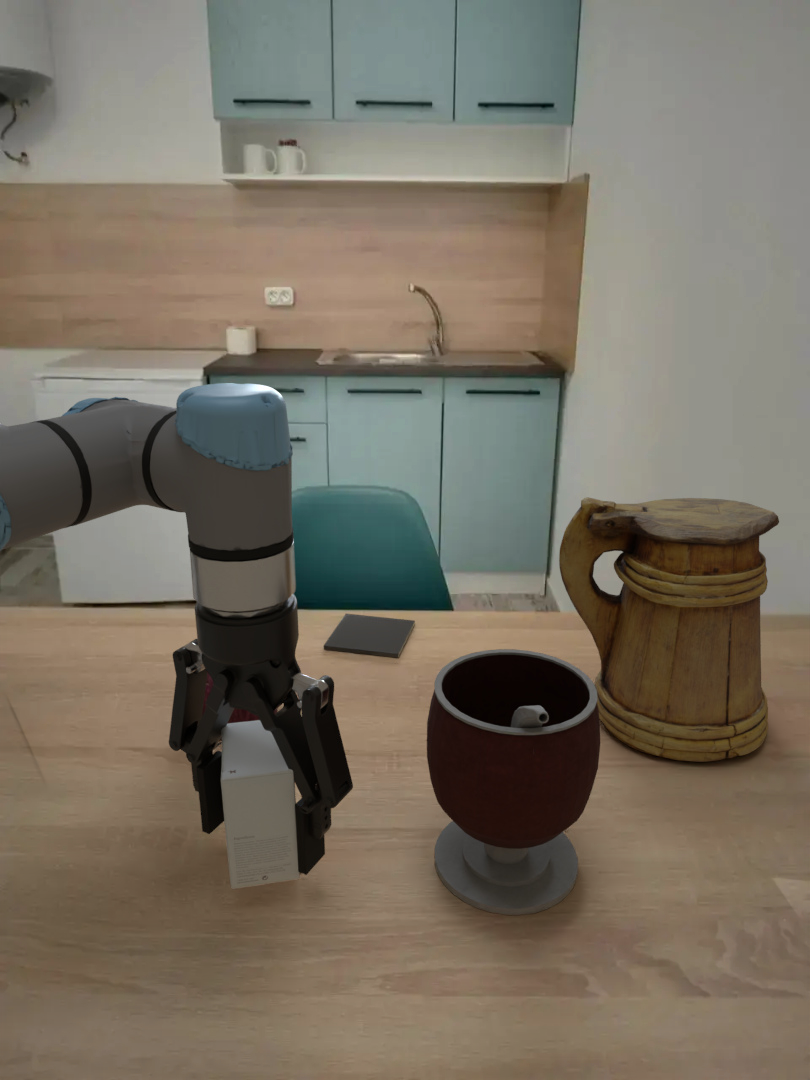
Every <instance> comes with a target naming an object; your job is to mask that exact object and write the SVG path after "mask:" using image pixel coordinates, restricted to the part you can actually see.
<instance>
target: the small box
mask: <svg viewBox="0 0 810 1080" xmlns="http://www.w3.org/2000/svg"><path fill="white" fill-rule="evenodd" d="M221 736H222V739H221V742H222V743H221V752H222V769H221V789H222V800H223V811H224V822H223V823H224V832H225V842H226V843H225V844H226V853H227V854H226V855H227V865H228V875H229V884H230V888H231V889H232V890H236V889H244V888H249V887H257V886H263V885H269V884H277V883H282V882H289V881H296V880H299V879H300V878H301V873H300V872H298V853H297V833H296V814H295V804H296V803H297V800H296V799H297V798H296V784H295V781H294V775H293V770H291V769H288V767H287V765H286V762H285V760H284V758H283V756H282V754H281V752H280V750H279V748H278V746H277V743H276V741H275V739H274V737H273V735H272V733H271V732H270V731H266V730H265V729H264V728H263V726H262V724H261V721H260V720H256V721H247V722H237V723H228V724H227V725H226V726H225V727H224V728H223V729H222V730H221Z"/></svg>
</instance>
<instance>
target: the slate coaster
mask: <svg viewBox="0 0 810 1080" xmlns="http://www.w3.org/2000/svg"><path fill="white" fill-rule="evenodd" d="M415 625H416V620H415V619H414V620H413V619H404V618H394V617H393V618H392V617H384V616H373V615H364V614H356V613H355V614H354V613H345V614H344V615H343V616H342V618H341V619H340V621H339V623H338V624H337V626H336V627H335V628H334V630H333V631H332V633H331V634H330V636H329V637H328V638H327V640H326V641H325V643H324V644H323V650H324V651H325V650H326V651H333V652H342V653H351V654H352V653H353V654H361V655H368V656H369V655H370V656H380V657H388V658H395V659H396V658H397V659H399V657H400V655H401V653H402V652H403V649H404V647H405V645H406V643H407V641H408V639H409V638H410V636H411V633H412V631H413V629H414V627H415Z"/></svg>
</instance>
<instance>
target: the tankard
mask: <svg viewBox="0 0 810 1080" xmlns="http://www.w3.org/2000/svg"><path fill="white" fill-rule="evenodd" d="M779 524H780V519H779V516H778V514H776V513H775V511H772V510H769V509H766V508H763V507H760V506H758V505H754V504H751V503H748V502H744V501H738V500H730V499H723V498H703V497H702V498H700V497H684V498H683V497H682V498H662V499H654V500H649V501H644V502H638V503H616V502H615V501H610V500H601V499H597V498H593V497H584V498H582V499H581V501H580V507H579V508H578V510H577V511H576V512H575V514H574V515H573V516H572V518H571V519H570V521H569V522H568V524H567V526H566V527H565V530H564V532H563V536H562V539H561V542H560V545H559V554H558V555H559V556H558V559H559V560H558V565H559V573H560V577H561V581H562V584H563V586H564V588H565V591H566V593H567V595H568V598H569V599H570V601H571V603H572V605H573V607H574V609H575V610H576V612H577V614H578V616H579V617H580V619H581V620H582V621H583V623H584V625H585V626H586V628H587V629H588V631H589V632H590V635H591V637H592V639H593V642H594V644H595V647H596V648H597V651H598V655H599V659H600V660H599V661H600V671H599V672H598V673H597V675H596V676H595V679H594V685H595V688H596V690H597V704H598V710H599V721H600V722H602V724H603V726H604V728H606V730H607V731H608V732H609V733H610V734H612V736H613V737H615V738H616V739H618V740H619V741H620V742H622V743H623V744H625V745H626V746H628V747H630V748H632V749H634V750H636V751H639V752H641V753H646V754H648V755H653V756H657V757H660V758H665V759H670V760H675V761H681V762H682V761H685V762H696V763H697V762H698V763H699V762H700V763H701V762H714V761H716V762H717V761H721V760H725V759H733V758H735V757H737V756H738V757H739V756H745V755H748V754H750V753H752V752H754V751H755V750H757V749H758V748H759V747H761V746H762V745H763V743H764V741H765V739H766V737H767V734H768V729H769V706H768V698H767V695H766V693H765V691H764V690H763V687H762V654H761V653H762V652H761V651H762V650H761V648H762V646H761V645H762V644H761V643H762V642H761V596H762V595H764V594H765V592H766V591H767V589H768V583H769V579H768V576H767V571H768V570H767V569H768V568H767V559H766V556H765V555H764V554H763V552H761V551H760V536H763V535H765V534H767V533H768V532H770V531H771V530H772V529H774V528H775V527H776V526H778V525H779ZM610 552H621V553H620V554H619V555H618V556H617V557H616V559H615V560H614V562H613V570H614V572H615V573H616V575H617V577H618V578H619V579H620V581H621V582H622V587H621V589H620V592H619V594H617V595H616V594H611V593H608V592H606V591H605V590H603V589H601V588H600V587H599V585H598V583H597V582H596V580H595V577H594V571H595V563H596V562H597V561H598V560H599V559H600V557H601V556H603V554H604V553H610Z"/></svg>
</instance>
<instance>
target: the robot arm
mask: <svg viewBox="0 0 810 1080" xmlns="http://www.w3.org/2000/svg"><path fill="white" fill-rule="evenodd" d="M287 409H288V408H287V404H286V401H285V398H284V396H283V395H282V394H281V393H280V392H279V391H278V390H276V389H274V387H270V386H268V385H265V384H257V383H235V382H223V383H222V382H221V383H220V382H219V383H209V384H203V385H202V384H201V385H196V386H193V387H189V388H187V389H185V390H183V391H182V392H181V393H180V394H179V395H178V397H177V399H176V405H175V407H172V406H166V405H159V404H153V403H147V402H141V401H138V400H135V399H130V398H127V397H118V396H114V397H111V398H108V397H107V398H106V397H89V398H85V399H82V400H79V401H77V402H76V403H75V404H74V405H72V406H71V407H70V408H69V409H68V410H67V411H66V412H64V413H63V414H62V415H61V416H57V417H51V418H47V419H39V420H34V421H31V422H25V423H19V424H15V425H14V424H13V425H8V426H7V425H4V424H2V422H0V552H2V550H5V549H8V548H11V547H14V546H17V545H19V544H22V543H25V542H28V541H31V540H34V539H36V538H40V537H42V536H46V535H48V534H51V533H55V532H56V531H60V530H63V529H67V528H71V527H74V526H75V527H76V526H77V525H81V524H83V523H87V522H90V521H93V520H96V519H100V518H103V517H106V516H108V515H111V514H114V513H118V512H121V511H123V510H126V509H130V508H132V507H135V506H150V507H154V508H159V509H162V510H166V511H172V512H176V513H184V514H185V518H186V527H187V542H188V548H189V558H190V559H189V560H190V573H191V585H192V586H191V587H192V597H193V599H194V600H195V601H196V603H195V606H194V616H195V617H194V618H195V628H196V638H194V639H193V640H192V641H189V642H188V643H186V644H185V645H183V646H180V647H179V648H178V649H175V650H174V651H173V652H172V661H173V665H174V672H175V676H176V677H175V682H174V683H175V684H174V693H173V701H172V711H171V717H170V718H171V719H170V728H169V737H168V738H169V739H168V745H169V747H170V748H171V750H173V751H174V752H178V751H179V750H181V751H182V752H184V753H185V758H186V760H187V761H188V762H189V763H190V767H191V776H192V785H193V788H194V791H195V792H197V793H198V802H199V809H200V819H201V820H200V821H201V830H202V833H205V834H208V835H211V834H212V833H213V832H214V831H215V830H216V829H217V828H219V826H221V825H222V824H223V823H224V811H223V800H222V789H221V769H222V750H216V751H215V752H214V750H215V749H217V748H218V747H219V746H221V745H222V741H221V740H220V738H221V730H222V729H223V728H224V727H225V726H226V725H227V723H228V721H229V719H230V717H231V714H232V712H233V710H234V708H235V709H245V710H247V711H249V712H250V713H252V714H254V715H257V716H258V717H259V719H260V721H261V724H262V726H263V728H264V729H265V730H266V731H270V732H271V733H272V735H273V737H274V739H275V741H276V743H277V746H278V748H279V750H280V752H281V754H282V756H283V758H284V760H285V762H286V765H287V767H288V769H291V770H293V775H294V781H295V787H296V788H297V790H298V792H299V794H300V796H301V798H300V799H299V800H298V801H296V804H295V814H296V833H297V853H298V872H300V874H302V875H304V876H307V875H308V874H309V873H310V872H311V871H312V869H314V867H315V866H316V865H317V864H318V863H319V861H321V859H322V858H323V857H324V856H325V855H326V844H325V843H326V841H325V839H326V838H325V834H326V833H328V832H329V830H330V829H331V827H332V809H334V808H337V806H338V805H339V804H340V803H341V802H342V801H343V800H344V799H345V798H346V797H347V795H348V794H349V793H350V792H352V790H353V789H354V784H353V779H352V774H351V772H350V768H349V763H348V759H347V755H346V751H345V748H344V743H343V739H342V735H341V732H340V727H339V723H338V719H337V715H336V711H335V707H334V697H335V695H334V693H335V681H334V679H333V678H332V677H331V676H330V675H327V674H326V675H325V674H324V675H322V676H321V677H320V678H318V679H316V678H314V677H312V676H309V675H306V674H304V673H302V671H301V668H300V665H299V663H298V661H297V658H296V650H297V645H298V641H299V635H300V634H299V633H300V632H299V612H298V599H297V597H296V595H295V592H296V590H297V577H296V575H297V574H296V554H295V536H294V535H295V534H294V527H293V496H292V495H293V493H292V491H293V488H292V487H293V484H292V483H293V479H292V478H293V477H292V476H293V475H292V473H293V471H292V469H293V468H292V467H293V466H292V465H293V464H292V463H293V462H292V461H293V460H292V459H293V453H294V452H293V451H294V450H293V444H292V442H291V436H290V427H289V419H288V410H287ZM207 673H209V675H210V677H211V678H212V680H213V687H212V689H211V691H210V694H209V696H208V698H207V700H206V703H205V704H206V705H207V707H206V709H205V712H204V714H203V716H202V711H203V703H204V696H205V689H206V681H207ZM282 705H283V706H282ZM281 706H282V708H281V709H278V708H280V707H281ZM275 709H277V711H278V712H277V713H276V714H275V713H274V710H275ZM201 718H202V719H201Z"/></svg>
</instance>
